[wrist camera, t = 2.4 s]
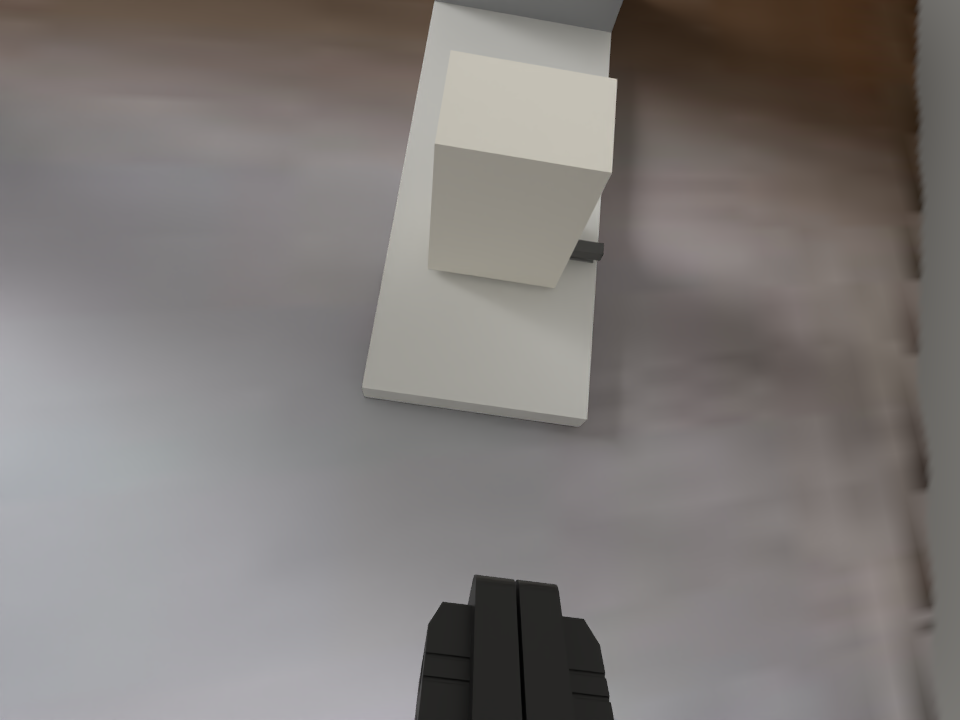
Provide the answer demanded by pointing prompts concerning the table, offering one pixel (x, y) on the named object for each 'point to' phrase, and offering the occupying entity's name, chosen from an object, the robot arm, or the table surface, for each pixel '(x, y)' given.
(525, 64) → the block
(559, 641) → the robot arm
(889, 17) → the table surface
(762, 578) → the table surface
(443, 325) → the base
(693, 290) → the table surface
